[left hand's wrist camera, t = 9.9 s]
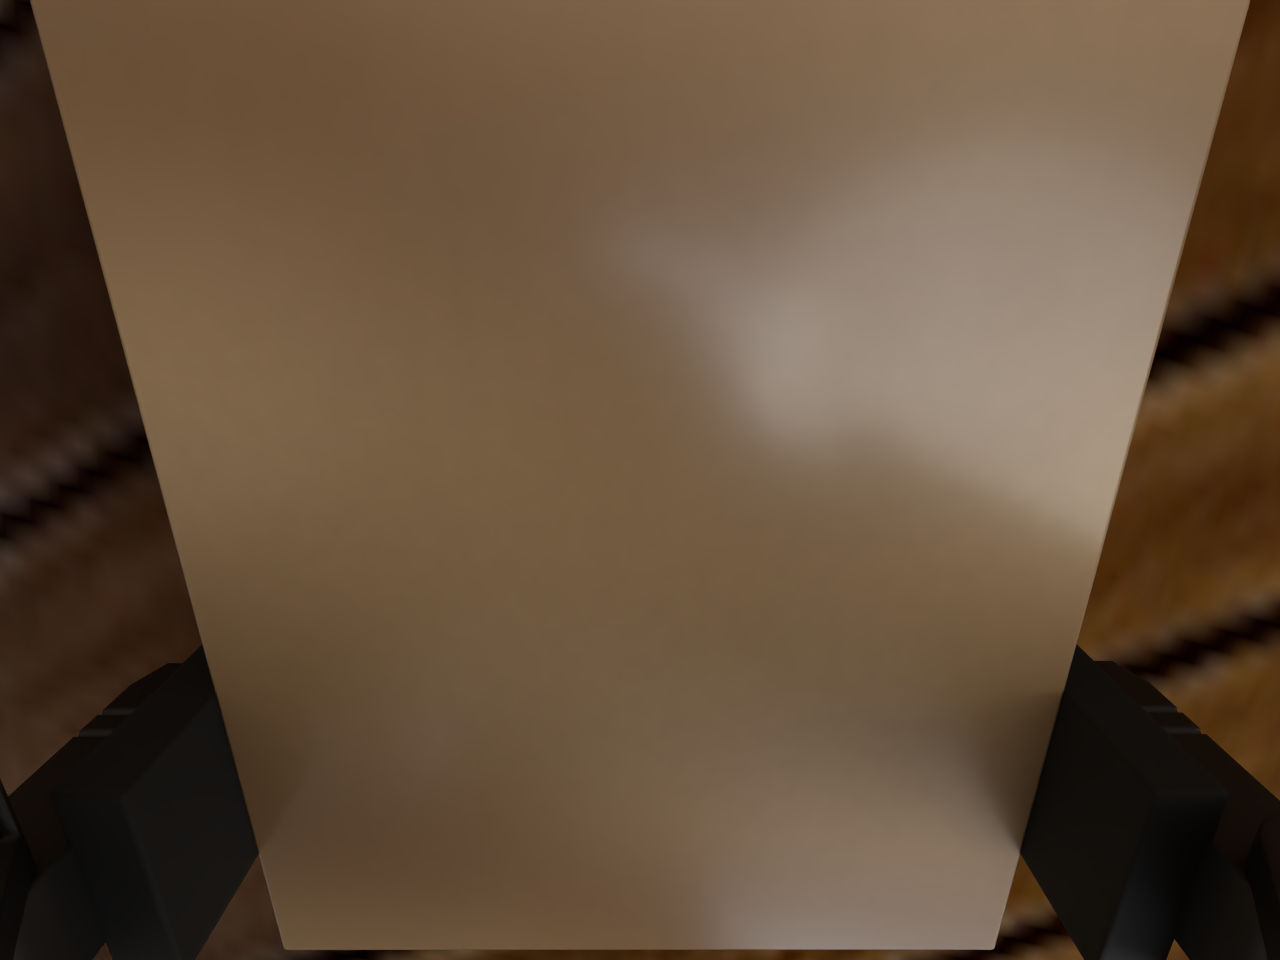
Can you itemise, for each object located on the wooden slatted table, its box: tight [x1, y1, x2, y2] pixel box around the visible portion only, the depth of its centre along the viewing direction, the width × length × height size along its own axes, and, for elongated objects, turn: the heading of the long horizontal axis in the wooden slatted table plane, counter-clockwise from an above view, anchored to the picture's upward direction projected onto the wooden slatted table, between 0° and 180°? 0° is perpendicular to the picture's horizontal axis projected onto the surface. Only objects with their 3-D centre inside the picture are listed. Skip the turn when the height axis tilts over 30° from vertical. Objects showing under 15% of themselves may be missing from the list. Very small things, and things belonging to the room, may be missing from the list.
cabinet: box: [30, 0, 1250, 950], centre depth 10 cm, size 22×10×9 cm, turn 0°
